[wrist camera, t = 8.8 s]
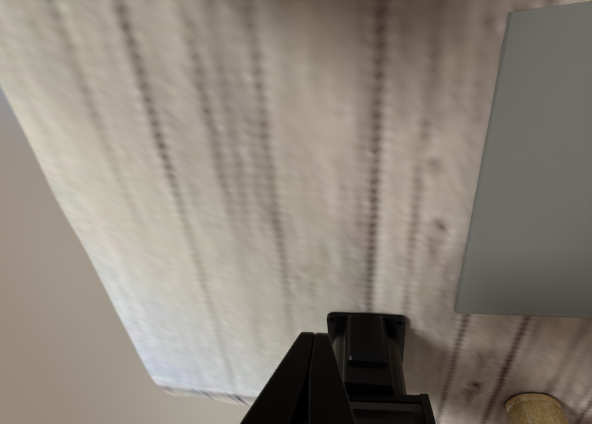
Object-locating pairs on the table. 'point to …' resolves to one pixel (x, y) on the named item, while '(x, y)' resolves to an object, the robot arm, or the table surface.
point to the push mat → (536, 174)
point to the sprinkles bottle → (535, 409)
